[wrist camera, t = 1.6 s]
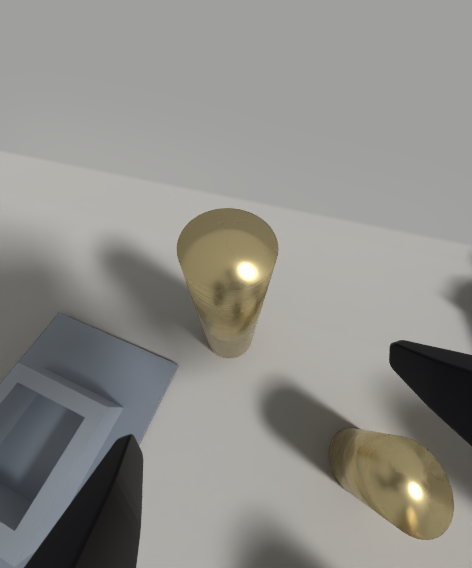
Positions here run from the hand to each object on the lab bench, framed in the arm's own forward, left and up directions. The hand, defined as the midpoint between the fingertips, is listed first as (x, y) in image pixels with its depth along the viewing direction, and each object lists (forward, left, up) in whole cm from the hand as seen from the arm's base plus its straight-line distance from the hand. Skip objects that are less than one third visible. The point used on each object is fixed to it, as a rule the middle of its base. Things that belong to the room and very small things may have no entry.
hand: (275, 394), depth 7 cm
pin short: (-1, -8, -12) cm, 15 cm away
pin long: (+4, +4, -12) cm, 13 cm away
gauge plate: (-8, +13, -12) cm, 19 cm away
